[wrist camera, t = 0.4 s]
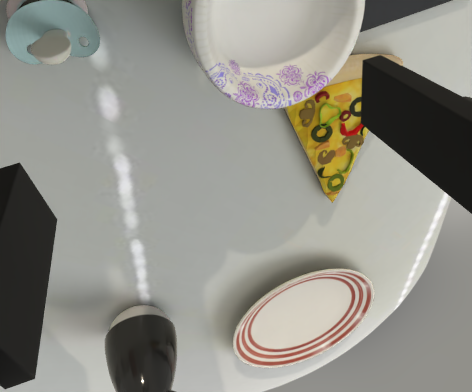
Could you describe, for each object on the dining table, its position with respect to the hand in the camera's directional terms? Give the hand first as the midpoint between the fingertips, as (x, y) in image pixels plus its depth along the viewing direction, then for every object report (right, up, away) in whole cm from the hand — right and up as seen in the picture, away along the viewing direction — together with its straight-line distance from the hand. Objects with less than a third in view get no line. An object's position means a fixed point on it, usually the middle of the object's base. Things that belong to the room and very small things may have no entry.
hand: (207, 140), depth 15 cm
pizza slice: (+13, +6, +35) cm, 38 cm away
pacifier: (-15, +13, +19) cm, 28 cm away
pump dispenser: (-14, -21, +45) cm, 51 cm away
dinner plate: (+13, -23, +56) cm, 62 cm away
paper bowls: (+3, +17, +23) cm, 28 cm away
